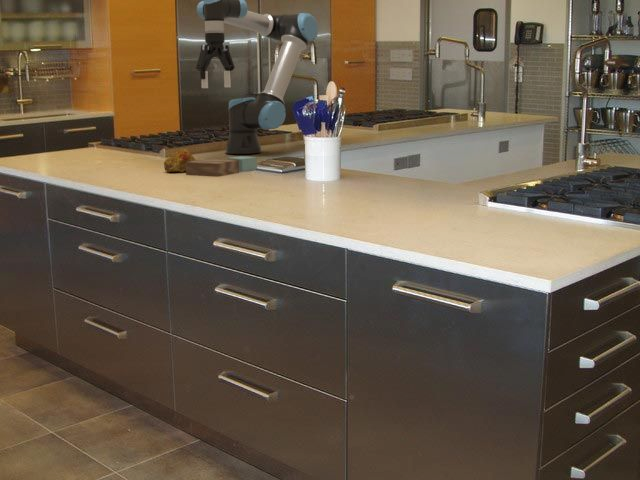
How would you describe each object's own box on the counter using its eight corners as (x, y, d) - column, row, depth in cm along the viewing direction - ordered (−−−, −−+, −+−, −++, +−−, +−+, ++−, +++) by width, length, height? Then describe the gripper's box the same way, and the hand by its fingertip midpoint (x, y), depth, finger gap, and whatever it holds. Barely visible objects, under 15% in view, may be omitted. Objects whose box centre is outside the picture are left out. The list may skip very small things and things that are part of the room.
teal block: (242, 169, 345) (241, 156, 344) (257, 170, 340) (256, 157, 339) (227, 171, 339) (227, 157, 338) (242, 172, 334) (242, 159, 333)
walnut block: (208, 171, 338) (208, 158, 337) (239, 173, 332) (238, 160, 331) (186, 175, 326) (185, 162, 325) (217, 177, 320) (217, 163, 319)
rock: (187, 182, 332) (166, 166, 328) (178, 184, 339) (157, 169, 335) (202, 158, 335) (181, 142, 331) (193, 161, 342) (172, 145, 338)
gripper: (227, 33, 358) (229, 87, 362) (185, 31, 338) (187, 88, 342) (242, 33, 354) (243, 87, 358) (200, 31, 333) (202, 88, 337)
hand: (216, 87), depth 350 cm, fingers open, 13 cm apart
